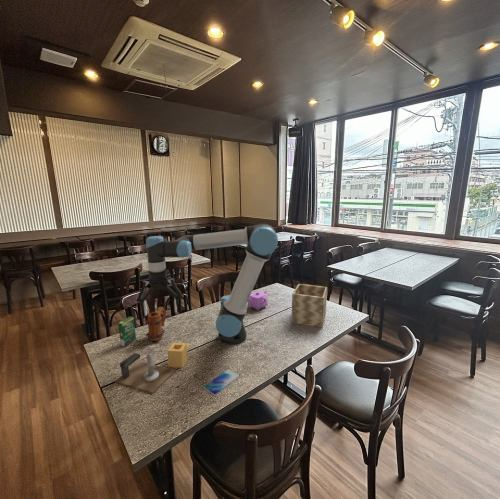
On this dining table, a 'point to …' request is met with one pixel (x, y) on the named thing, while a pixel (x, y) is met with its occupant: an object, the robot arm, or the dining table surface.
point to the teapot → (258, 300)
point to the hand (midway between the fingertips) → (161, 312)
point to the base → (143, 374)
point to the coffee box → (127, 331)
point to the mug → (156, 324)
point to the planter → (309, 305)
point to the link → (178, 354)
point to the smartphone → (221, 382)
